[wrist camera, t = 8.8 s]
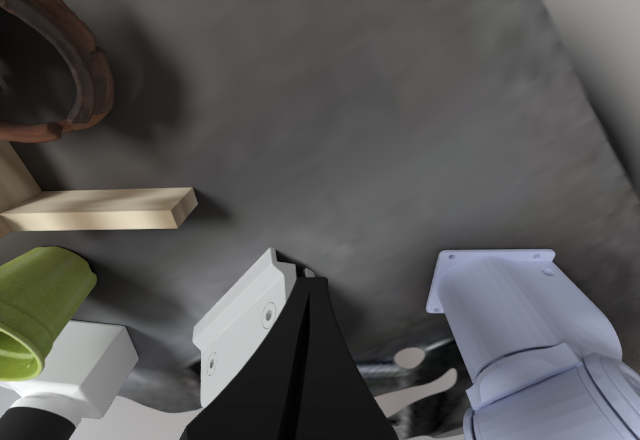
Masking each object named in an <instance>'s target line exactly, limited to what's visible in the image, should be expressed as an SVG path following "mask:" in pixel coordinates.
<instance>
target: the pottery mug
mask: <svg viewBox="0 0 640 440" xmlns="http://www.w3.org/2000/svg"><path fill="white" fill-rule="evenodd" d="M0 7H2V8H3V9H5V10H6V11H8V12H10V13H12V14H14V15H15V16H17V17H19V18H20V19H21V20H23V21H24V22H25V23H27V24H28V25H30V26H31V27H33V28H34V29H36V30H37V31H38V32H39V33H41V34H42V35H43V36H44V37H45V38H46V39H47V40H48V41H49V42H51V43H52V44H53V45H54V46H55V47H56V49H57V50H58V51H59V52H60V54H61V55H62V56H63V58H64V59H65V61H66V62H67V64H68V66H69V67H70V70H71V73H72V75H73V77H74V80H75V84H76V90H77V96H76V101H75V105H74V107H73V108H72V110H71V111H70V113H69V115H68V117H67V118H66V119H65V120H62V121H59V122H50V123H44V124H18V123H11V122H6V121H1V120H0V139H1V140H5V141H14V142H22V143H40V142H48V141H54V140H57V139H60V138H61V134H65V133H69V132H72V131H74V130H81V129H87V128H90V127H92V126H93V125H95V124H97V123H98V122H100V121H101V120H102V119H103V118H104V117H105V116H106V115H107V114H108V113H109V112H110V111H111V109H112V108H113V103H114V83H113V77H112V72H111V69H110V66H109V62H108V58H107V55H106V53H105V52H104V51H103V50H102V49H100V48H98V47H95V43H96V39H95V36H94V35H93V33H92V32H91V31H90V30H89V29H88V27H87V26H86V25H85V24H84V23H83V22H82V21H81V20H80V19H79V18H78V17H77V16H76V15H75V14H74V13H73V12H72V11H71V10H70V9H69V8H68V6H67V5H66V4H65V3H64V2H63V0H0ZM1 92H2V88H1V87H0V93H1Z"/></svg>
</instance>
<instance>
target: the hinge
mask: <svg viewBox="0 0 640 440" xmlns="http://www.w3.org/2000/svg"><path fill="white" fill-rule="evenodd" d="M298 277H315V276H314V273H313V272H312V271H311V270H310V269H308V268H305V269H304V270H303V271H301V272H299V273H298V271H297V269H296V268H295V264H290V263H283V262H277V258H276V251H275V249H273V248H271V247H270V248H269V249H268V250H267V251H266V252H265V253H264V254H263V255H262V256H261V257H260V258H259V259H258V260H257V261H256V263H255V264H254V265H253V266H252V267H251V268H250V269H249V270H248V271H247V272H246V273H245V274H244V275H243V276H242V277H241V278H240V279H239V280H238V281H237V282H236V283H235V284H234V286H233V287H232V288H231V289H230V290H229V291H228V292H227V293H226V294H225V295H224V296H223V297H222V298H221V299H220V300H219V301H218V302H217V303H216V304H215V305H214V306H213V307H212V308H211V310H210V311H209V312H208V313H207V314H206V315H205V316H204V317H203V318H202V319H201V320H200V321H199V322H198V323H197V324H196V325H195V326H194V332H193V343H194V344H195V345H196V346H197V347H198V348H199V349H200V350H201V405H202V407H204V408H206V407H207V406H208V405H209V404H210V403H211V402H212V401H213V400H214V399H215V398H216V397H217V396H218V394H219V393H220V392H221V391H222V390H223V389H224V388H225V387H226V386H227V385H228V384H229V382H230V381H231V380H232V379H233V378H234V377H235V376H236V375H237V373H238V372H239V371H240V370H241V369H242V367H243V366H244V365H245V364H246V362H247V361H248V360H249V359H250V357H251V356H252V355H253V354H254V352H255V351H256V350H257V348H258V347H259V345H260V344H261V343H262V341H263V340H264V338H265V337H266V335H267V334H268V332H269V331H270V329H271V327H272V326H273V324H274V323H275V321H276V319H277V318H278V316H279V314H280V312H281V311H282V309H283V307H284V305H285V303H286V301H287V299H288V297H289V295H290V293H291V291H292V289H293V286H294V284H295V281H296V279H297V278H298Z"/></svg>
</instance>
